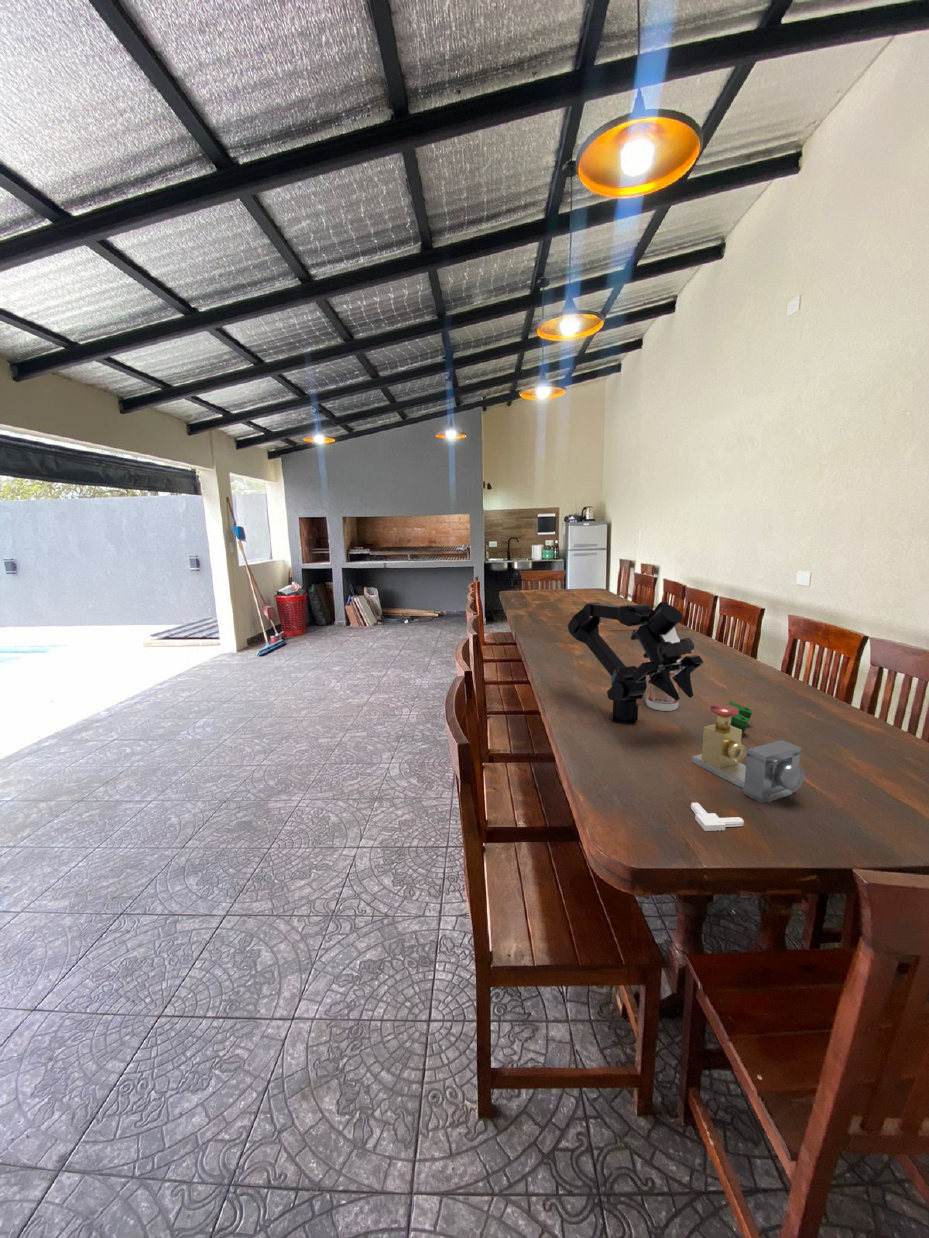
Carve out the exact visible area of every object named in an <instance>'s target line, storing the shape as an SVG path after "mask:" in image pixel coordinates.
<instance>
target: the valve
mask: <svg viewBox="0 0 929 1238" xmlns="http://www.w3.org/2000/svg"><path fill="white" fill-rule="evenodd" d="M710 711H711V713H714V714H715V715H716V716H715V717H716V718H715V723H713V724H709V725H705V726H703V732H702V733H703V735H702V747H701V754H702V757H701V759H702V760H704V761H706V762H708V763H710V764H712V765H714V766H716V767H718V768H723V767H727V766H731V765H734V764H738V763H741V762H743V761H744V760H745V758H747V751H748V747H747V746H746V745H744V744H743V743H742V737H743V736H742V735H743V734H742V730H741V729H738V728H736V727H733V726H731V716H736V715H738V712H739V709H738V708H736V707H734V706H731V705H728V704H727V703H713V704H711V705H710Z"/></svg>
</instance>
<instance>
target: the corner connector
mask: <svg viewBox="0 0 929 1238" xmlns="http://www.w3.org/2000/svg"><path fill="white" fill-rule="evenodd" d="M690 809H691V810H692V811H693V813H694V814H695V815H694V816H695V817H694V819H695V821H696V822H697V823H698V825H699V826H700V827H701V828H702V830H703V831H704V832H715V831H716V832H717V830H718V831H719V832H720V831H721V830H722V831H726V828H727V827H732V828H733V827H743V826H744V823H745V822H744V819H743V818H742V817H739V816H736V817H732V816H731V817H719V816H718V815H717V814H716V813H715V812H711V813H708V812H707V811H706V810H705V809H704V808H703V807H702V805H701V804H700V803H698V802H691V805H690ZM722 831H721V832H722Z"/></svg>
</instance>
